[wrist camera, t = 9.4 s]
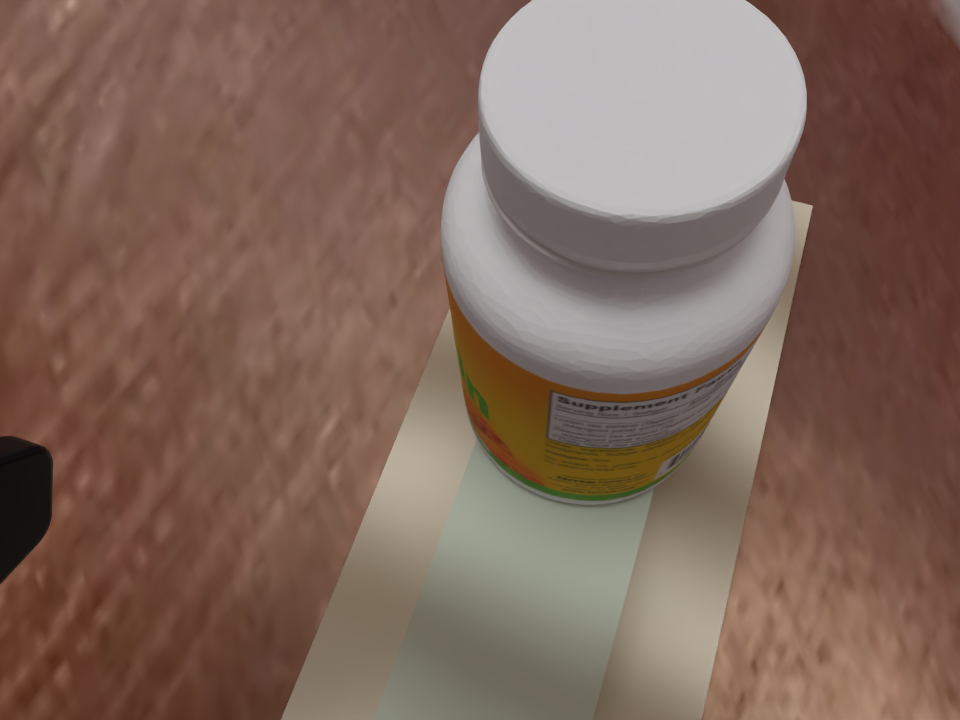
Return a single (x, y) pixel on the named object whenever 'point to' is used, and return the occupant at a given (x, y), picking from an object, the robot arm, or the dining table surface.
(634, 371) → the supplement bottle
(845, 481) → the dining table surface
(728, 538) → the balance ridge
